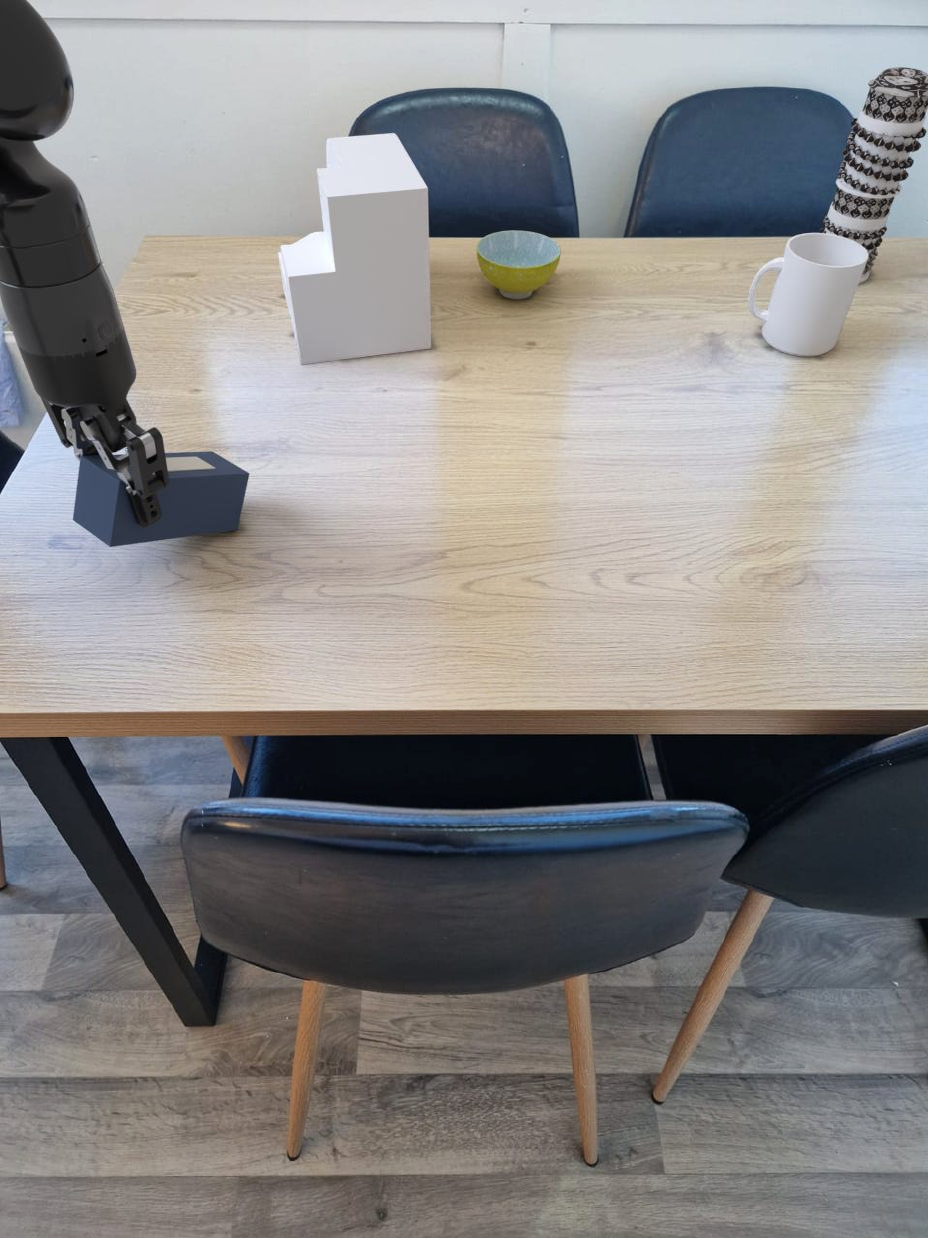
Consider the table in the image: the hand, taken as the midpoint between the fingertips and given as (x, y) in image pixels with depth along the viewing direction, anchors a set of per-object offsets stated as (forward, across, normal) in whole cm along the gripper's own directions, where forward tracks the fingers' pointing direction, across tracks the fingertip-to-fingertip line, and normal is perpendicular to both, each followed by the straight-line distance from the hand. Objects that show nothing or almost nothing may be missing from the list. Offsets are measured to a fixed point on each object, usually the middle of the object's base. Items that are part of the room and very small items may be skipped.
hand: (128, 506), depth 73 cm
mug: (+5, +29, +79) cm, 84 cm away
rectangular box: (+4, 0, +2) cm, 4 cm away
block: (+6, -20, +48) cm, 52 cm away
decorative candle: (+4, +26, +102) cm, 105 cm away
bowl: (+5, -6, +66) cm, 67 cm away
